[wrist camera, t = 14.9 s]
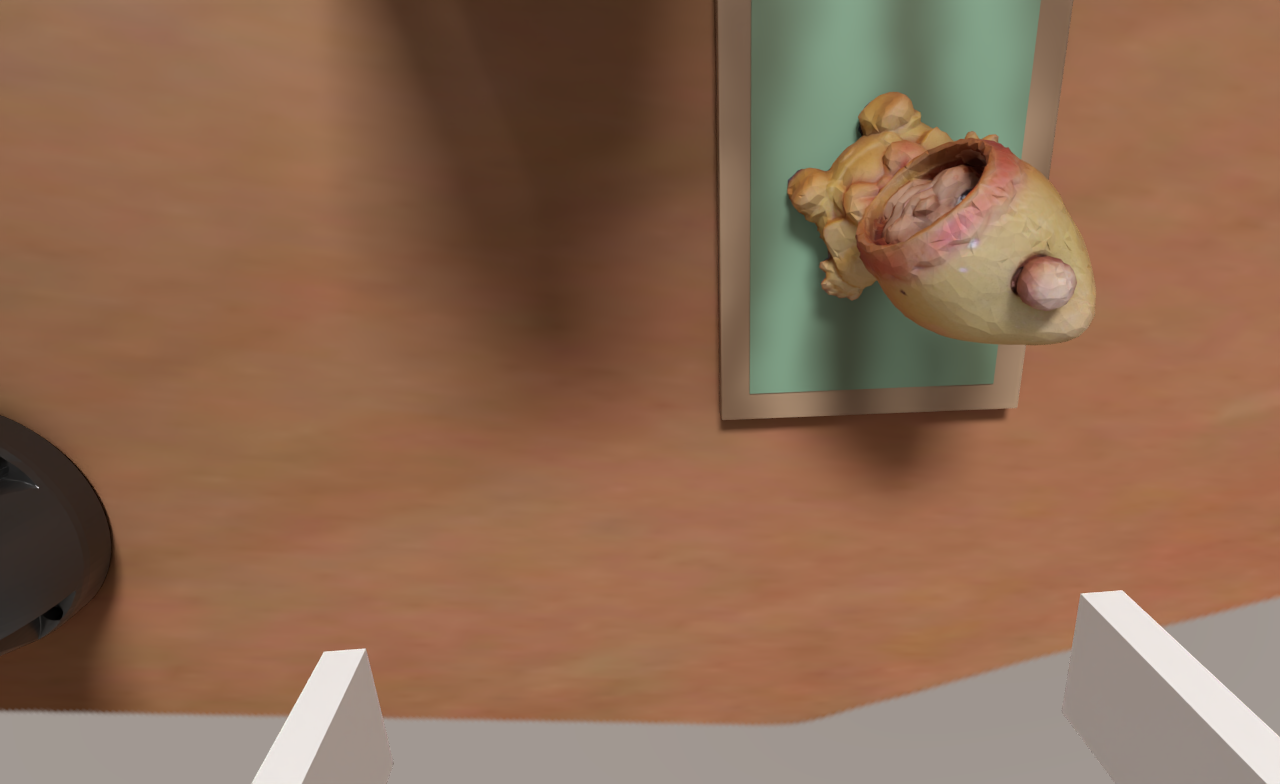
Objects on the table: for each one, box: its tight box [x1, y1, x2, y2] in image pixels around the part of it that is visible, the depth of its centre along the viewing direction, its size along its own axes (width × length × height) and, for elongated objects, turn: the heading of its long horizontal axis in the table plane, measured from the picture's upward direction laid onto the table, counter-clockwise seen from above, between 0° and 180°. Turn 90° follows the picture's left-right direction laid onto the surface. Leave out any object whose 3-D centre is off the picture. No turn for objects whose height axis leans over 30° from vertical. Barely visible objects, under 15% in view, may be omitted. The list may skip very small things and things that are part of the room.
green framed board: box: [716, 0, 1073, 420], centre depth 37 cm, size 16×22×1 cm
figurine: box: [787, 92, 1096, 345], centre depth 31 cm, size 10×8×15 cm
